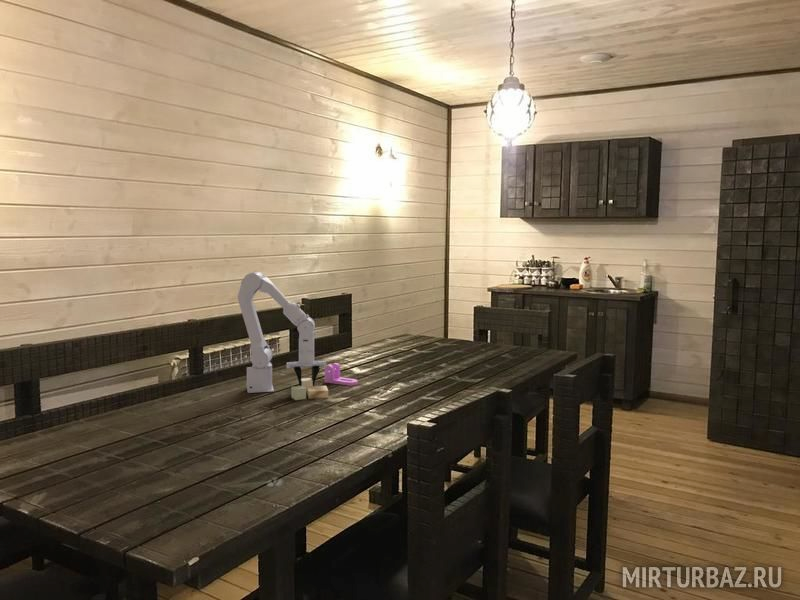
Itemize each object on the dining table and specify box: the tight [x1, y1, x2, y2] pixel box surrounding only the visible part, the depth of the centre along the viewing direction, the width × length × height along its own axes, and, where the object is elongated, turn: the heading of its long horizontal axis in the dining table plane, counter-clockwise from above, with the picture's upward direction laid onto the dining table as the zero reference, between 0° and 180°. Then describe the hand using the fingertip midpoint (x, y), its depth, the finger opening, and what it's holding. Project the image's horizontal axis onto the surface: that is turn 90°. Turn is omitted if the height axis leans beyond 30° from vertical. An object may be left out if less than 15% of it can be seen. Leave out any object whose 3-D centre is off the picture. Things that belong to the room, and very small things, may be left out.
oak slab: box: [306, 385, 329, 400], centre depth 231 cm, size 7×7×3 cm
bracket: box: [324, 362, 358, 386], centre depth 250 cm, size 13×6×7 cm, turn 62°
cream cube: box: [301, 377, 313, 392], centre depth 237 cm, size 4×4×4 cm
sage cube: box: [290, 385, 307, 401], centre depth 227 cm, size 4×4×4 cm
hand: (306, 386), depth 237 cm, fingers closed on cream cube, 4 cm apart
